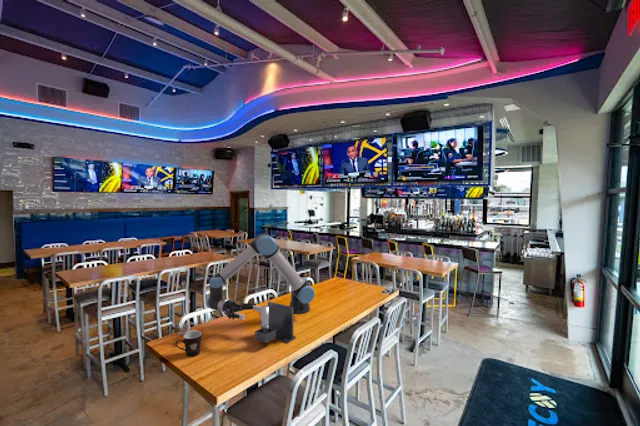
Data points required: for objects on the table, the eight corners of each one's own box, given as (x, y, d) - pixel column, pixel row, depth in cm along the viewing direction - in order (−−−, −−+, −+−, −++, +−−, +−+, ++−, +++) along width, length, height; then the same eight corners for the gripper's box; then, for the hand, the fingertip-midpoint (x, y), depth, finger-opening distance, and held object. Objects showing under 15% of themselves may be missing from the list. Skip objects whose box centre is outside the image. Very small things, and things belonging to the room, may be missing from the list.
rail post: (265, 333, 170) (264, 305, 169) (271, 335, 168) (270, 306, 167) (259, 336, 166) (258, 307, 166) (265, 338, 164) (264, 308, 163)
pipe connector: (176, 346, 166) (176, 328, 166) (179, 338, 176) (179, 321, 175) (196, 344, 169) (195, 326, 168) (198, 336, 178) (198, 319, 178)
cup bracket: (271, 331, 185) (271, 300, 184) (295, 338, 175) (295, 306, 174) (248, 343, 169) (247, 310, 168) (273, 352, 159) (272, 317, 158)
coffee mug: (204, 349, 162) (204, 331, 162) (198, 358, 154) (198, 338, 153) (182, 350, 162) (181, 331, 162) (175, 358, 153) (174, 339, 153)
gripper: (243, 306, 194) (268, 313, 182) (209, 319, 173) (235, 328, 161) (242, 294, 193) (268, 300, 182) (209, 306, 172) (235, 314, 161)
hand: (253, 313), depth 171 cm, fingers open, 13 cm apart
